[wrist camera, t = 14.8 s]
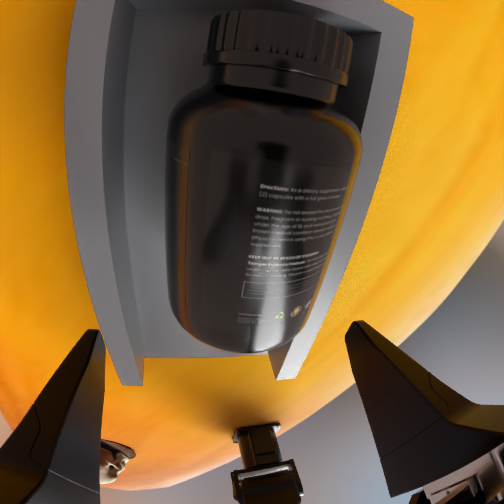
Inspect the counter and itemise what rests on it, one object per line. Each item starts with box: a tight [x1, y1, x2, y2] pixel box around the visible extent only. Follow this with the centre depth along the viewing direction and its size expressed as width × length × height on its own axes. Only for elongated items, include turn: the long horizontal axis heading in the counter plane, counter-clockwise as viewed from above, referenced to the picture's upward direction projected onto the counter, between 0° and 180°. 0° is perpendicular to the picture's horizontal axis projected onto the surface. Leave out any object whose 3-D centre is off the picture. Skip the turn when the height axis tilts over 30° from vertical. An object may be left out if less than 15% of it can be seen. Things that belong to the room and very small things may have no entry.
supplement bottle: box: [165, 10, 363, 354], centre depth 11 cm, size 7×7×12 cm
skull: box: [100, 439, 136, 484], centre depth 35 cm, size 12×10×10 cm
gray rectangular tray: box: [64, 0, 414, 386], centre depth 14 cm, size 25×13×4 cm, turn 170°
